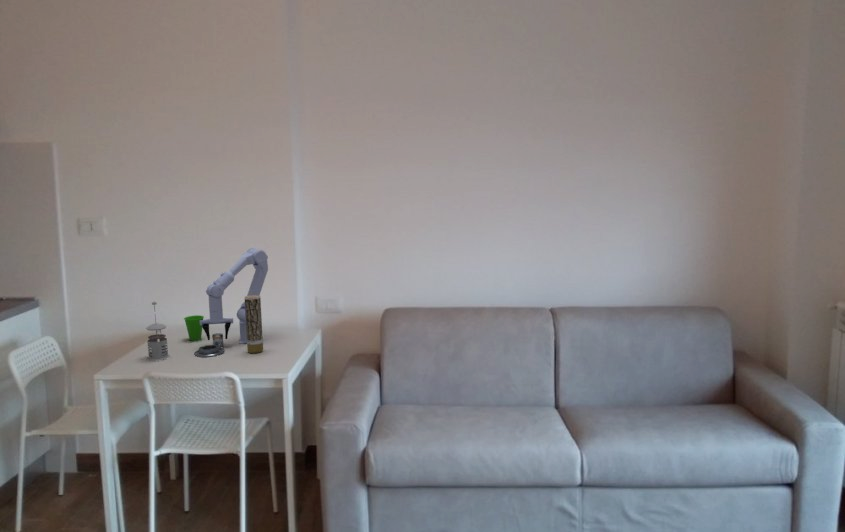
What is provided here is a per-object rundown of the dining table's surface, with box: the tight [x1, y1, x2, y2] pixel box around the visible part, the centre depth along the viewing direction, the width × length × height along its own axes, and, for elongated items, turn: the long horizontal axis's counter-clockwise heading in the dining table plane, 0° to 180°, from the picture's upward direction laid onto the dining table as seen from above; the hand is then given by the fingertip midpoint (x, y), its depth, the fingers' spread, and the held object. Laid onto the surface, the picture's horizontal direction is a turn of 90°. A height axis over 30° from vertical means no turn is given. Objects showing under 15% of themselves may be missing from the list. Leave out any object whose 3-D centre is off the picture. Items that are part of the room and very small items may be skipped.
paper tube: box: [244, 295, 264, 354], centre depth 283 cm, size 7×7×25 cm
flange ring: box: [193, 344, 226, 358], centre depth 284 cm, size 13×13×2 cm
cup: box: [183, 314, 205, 342], centre depth 305 cm, size 9×9×11 cm
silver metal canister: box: [212, 332, 224, 348], centre depth 293 cm, size 5×5×6 cm
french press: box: [145, 301, 171, 362], centre depth 276 cm, size 10×12×25 cm
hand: (217, 339), depth 292 cm, fingers open, 7 cm apart
